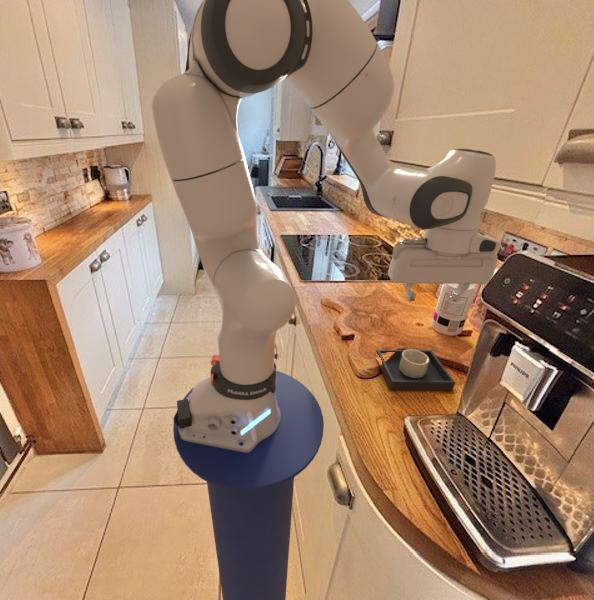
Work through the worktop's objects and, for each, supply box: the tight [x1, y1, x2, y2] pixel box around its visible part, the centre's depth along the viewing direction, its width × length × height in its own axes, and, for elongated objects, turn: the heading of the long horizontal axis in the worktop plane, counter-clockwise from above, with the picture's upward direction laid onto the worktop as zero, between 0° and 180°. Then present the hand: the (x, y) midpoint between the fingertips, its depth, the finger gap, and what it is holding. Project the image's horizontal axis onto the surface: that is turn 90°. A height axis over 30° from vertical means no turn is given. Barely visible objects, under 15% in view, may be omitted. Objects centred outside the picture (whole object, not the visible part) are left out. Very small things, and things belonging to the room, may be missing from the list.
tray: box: [375, 349, 456, 392], centre depth 80 cm, size 14×12×3 cm
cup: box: [399, 348, 429, 378], centre depth 80 cm, size 6×6×4 cm
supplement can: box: [430, 284, 476, 337], centre depth 94 cm, size 8×8×15 cm
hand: (431, 299), depth 71 cm, fingers open, 8 cm apart
